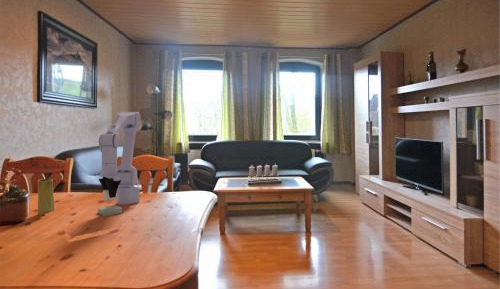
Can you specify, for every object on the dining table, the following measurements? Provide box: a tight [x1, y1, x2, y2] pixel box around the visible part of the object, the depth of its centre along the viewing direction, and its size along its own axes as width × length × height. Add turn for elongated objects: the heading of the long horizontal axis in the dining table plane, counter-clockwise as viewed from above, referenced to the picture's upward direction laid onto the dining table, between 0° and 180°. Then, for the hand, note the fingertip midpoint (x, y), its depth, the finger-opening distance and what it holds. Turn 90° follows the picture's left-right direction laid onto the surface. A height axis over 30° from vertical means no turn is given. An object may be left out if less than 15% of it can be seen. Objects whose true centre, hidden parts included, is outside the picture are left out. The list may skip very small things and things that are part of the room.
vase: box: [36, 178, 55, 217], centre depth 131 cm, size 6×6×14 cm
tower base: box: [96, 211, 124, 217], centre depth 129 cm, size 8×8×2 cm
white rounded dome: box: [102, 189, 117, 202], centre depth 129 cm, size 5×5×4 cm
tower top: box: [97, 204, 123, 217], centre depth 129 cm, size 7×7×2 cm
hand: (109, 196), depth 129 cm, fingers closed on white rounded dome, 5 cm apart
